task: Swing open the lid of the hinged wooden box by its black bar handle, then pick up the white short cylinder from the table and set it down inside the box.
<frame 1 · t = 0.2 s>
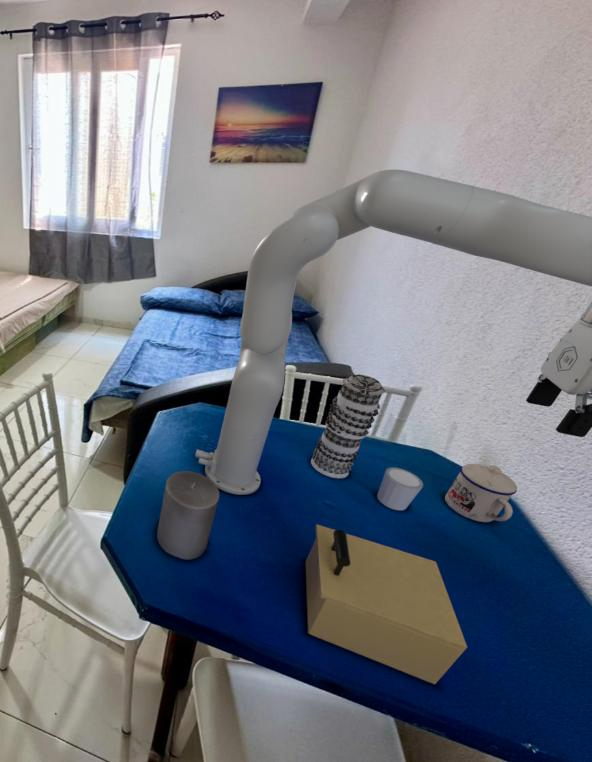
hand: (552, 418, 67), 31 cm above the table, tool pointing down, fingers open, 9 cm apart
lid: (385, 570, 63), point 11 cm above the table, hinge at 0.0°
white patterned cylinder: (329, 467, 102), on the table
teacup with lid: (472, 513, 90), on the table
pillar candle: (180, 540, 81), on the table
white short cylinder: (391, 501, 92), on the table
hinged wooden box: (361, 615, 68), on the table
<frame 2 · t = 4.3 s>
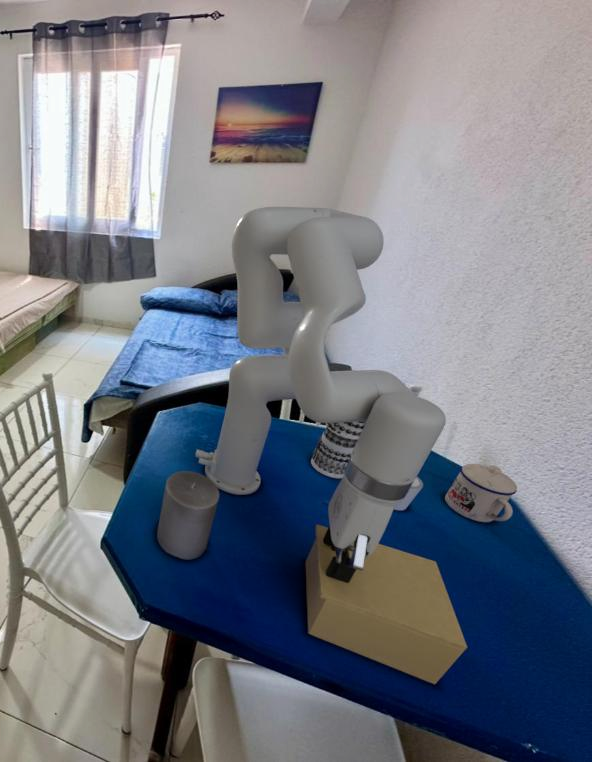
hand: (335, 560, 66), 10 cm above the table, tool pointing down, fingers closed on lid, 6 cm apart
lid: (385, 570, 63), point 11 cm above the table, hinge at 0.0°, touching gripper
everything else where it was.
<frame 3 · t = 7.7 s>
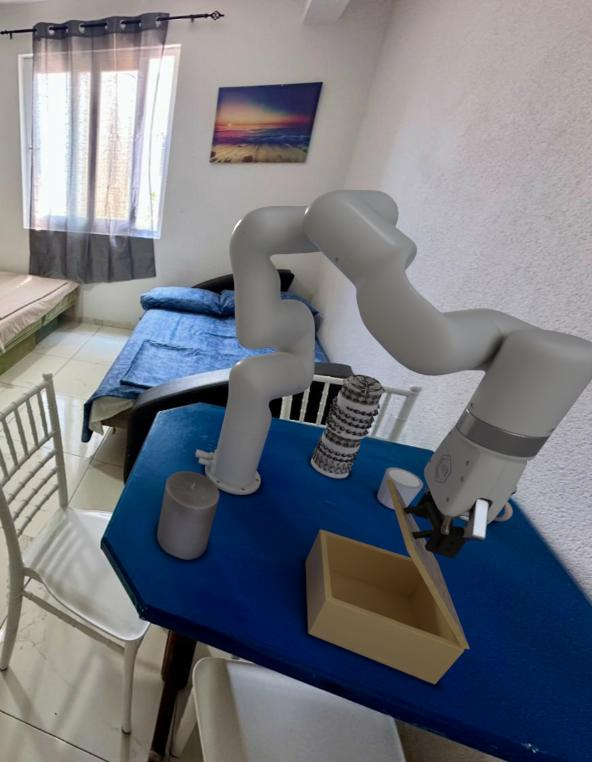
hand: (432, 533, 57), 21 cm above the table, tool pointing down, fingers closed on lid, 6 cm apart
lid: (442, 555, 58), point 18 cm above the table, hinge at 51.1°, touching gripper
everything else where it was.
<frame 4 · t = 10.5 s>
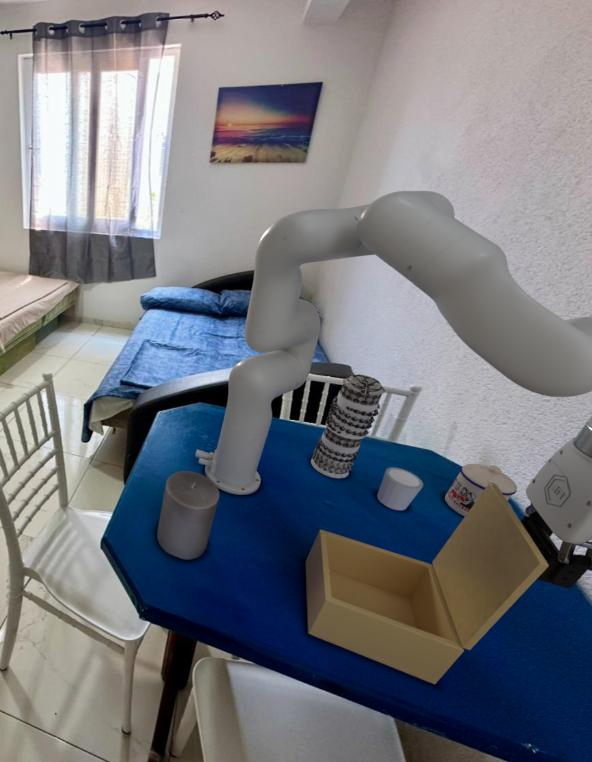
hand: (538, 560, 53), 22 cm above the table, tool pointing down, fingers closed on lid, 6 cm apart
lid: (498, 569, 56), point 18 cm above the table, hinge at 91.1°, touching gripper
everything else where it was.
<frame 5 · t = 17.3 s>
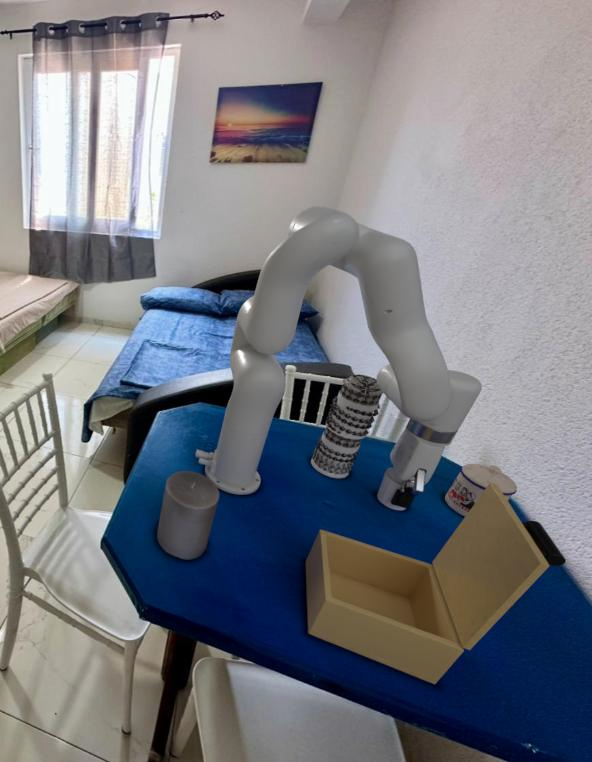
hand: (395, 493, 91), 2 cm above the table, tool pointing down, fingers closed on white short cylinder, 6 cm apart
lid: (499, 569, 56), point 18 cm above the table, hinge at 91.3°
white short cylinder: (391, 501, 92), on the table, touching gripper
everything else where it was.
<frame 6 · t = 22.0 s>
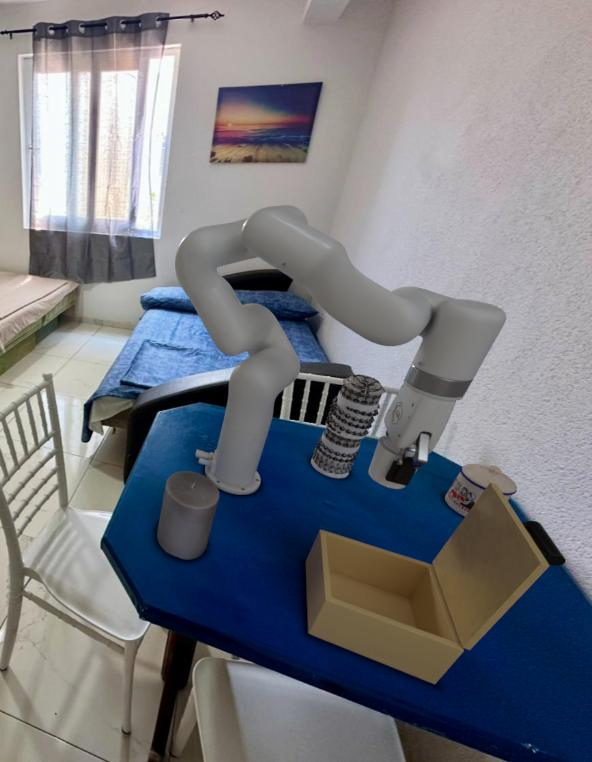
hand: (391, 468, 72), 20 cm above the table, tool pointing down, fingers closed on white short cylinder, 6 cm apart
white short cylinder: (386, 478, 73), point 17 cm above the table, touching gripper
everything else where it was.
when the fingers open (4 cm above the table, at t = 27.5 s): white short cylinder stays where it is, resting on hinged wooden box.
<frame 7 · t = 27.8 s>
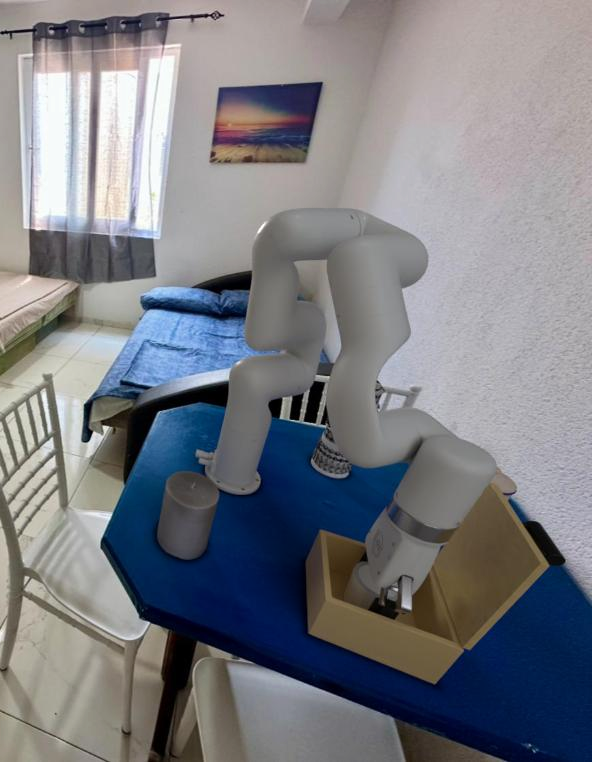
hand: (373, 592, 66), 6 cm above the table, tool pointing down, fingers open, 9 cm apart
white short cylinder: (361, 605, 69), point 1 cm above the table, touching hinged wooden box
everything else where it was.
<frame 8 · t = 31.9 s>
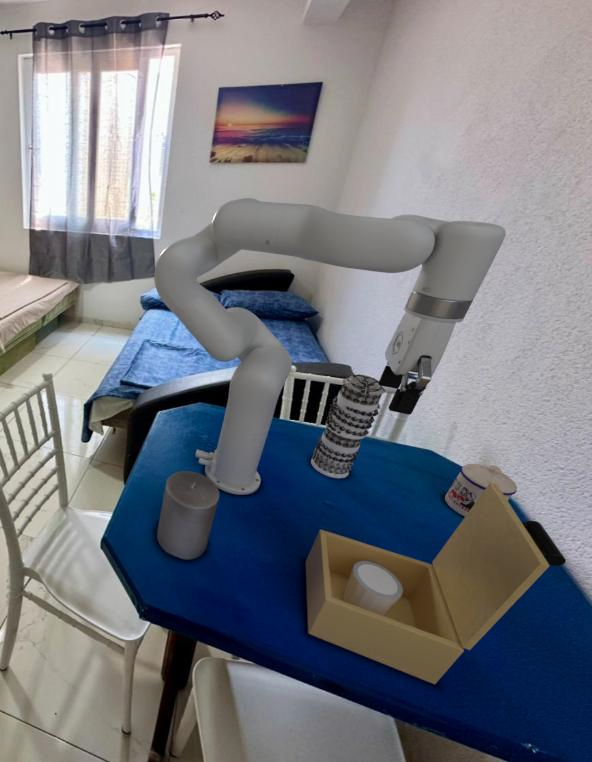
hand: (393, 398, 72), 30 cm above the table, tool pointing down, fingers open, 9 cm apart
nothing on the table moved.
at the end: lid at +91° (first picture: +0°); white short cylinder inside the target area in the hinged wooden box (1.3 cm from its centre), point 0.7 cm above the hinged wooden box's base; white short cylinder tilted 0° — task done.
